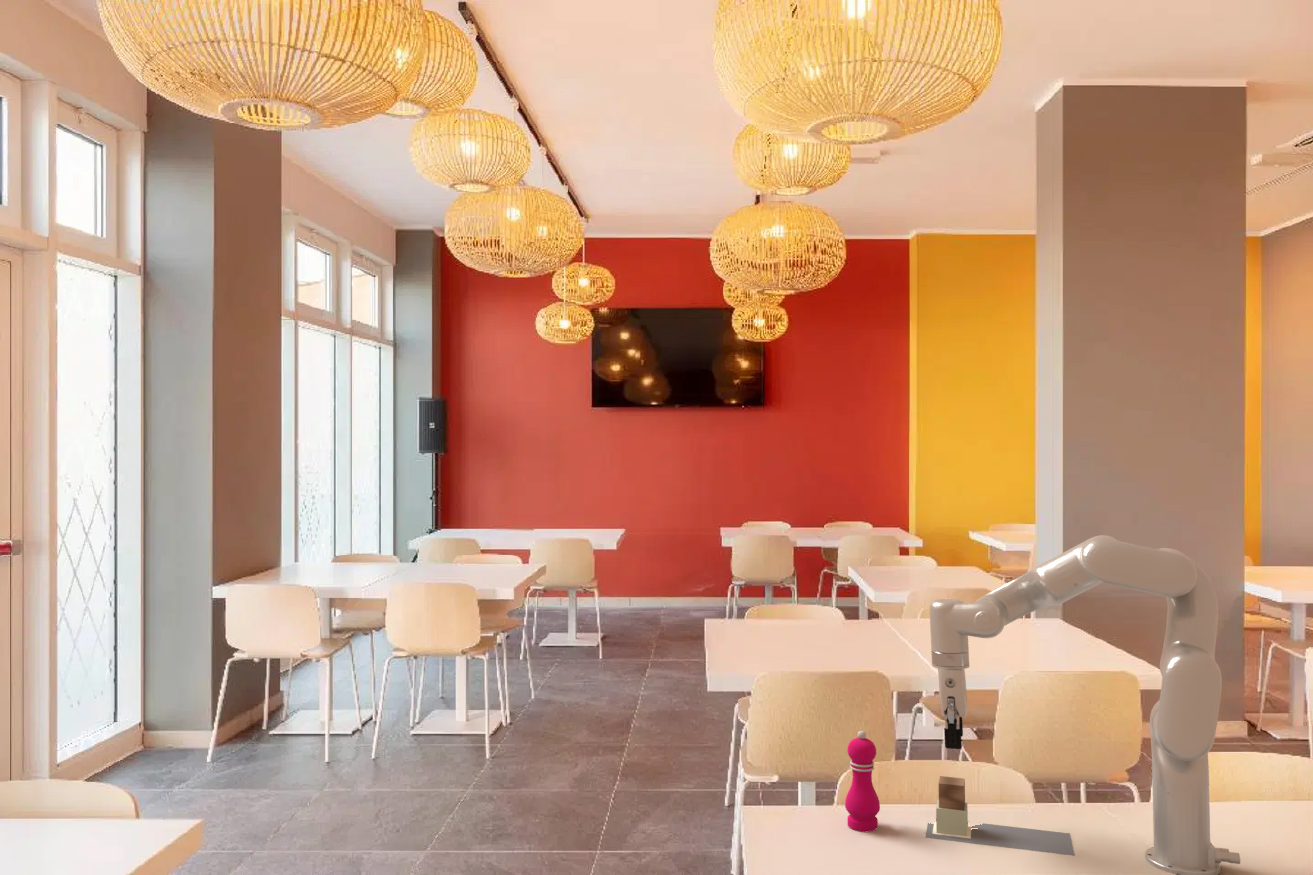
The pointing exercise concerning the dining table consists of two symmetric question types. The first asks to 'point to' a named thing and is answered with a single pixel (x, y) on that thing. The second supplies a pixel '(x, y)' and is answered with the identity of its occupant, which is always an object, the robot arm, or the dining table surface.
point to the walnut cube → (952, 793)
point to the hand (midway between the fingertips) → (954, 741)
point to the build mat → (1010, 838)
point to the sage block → (952, 821)
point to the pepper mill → (862, 785)
